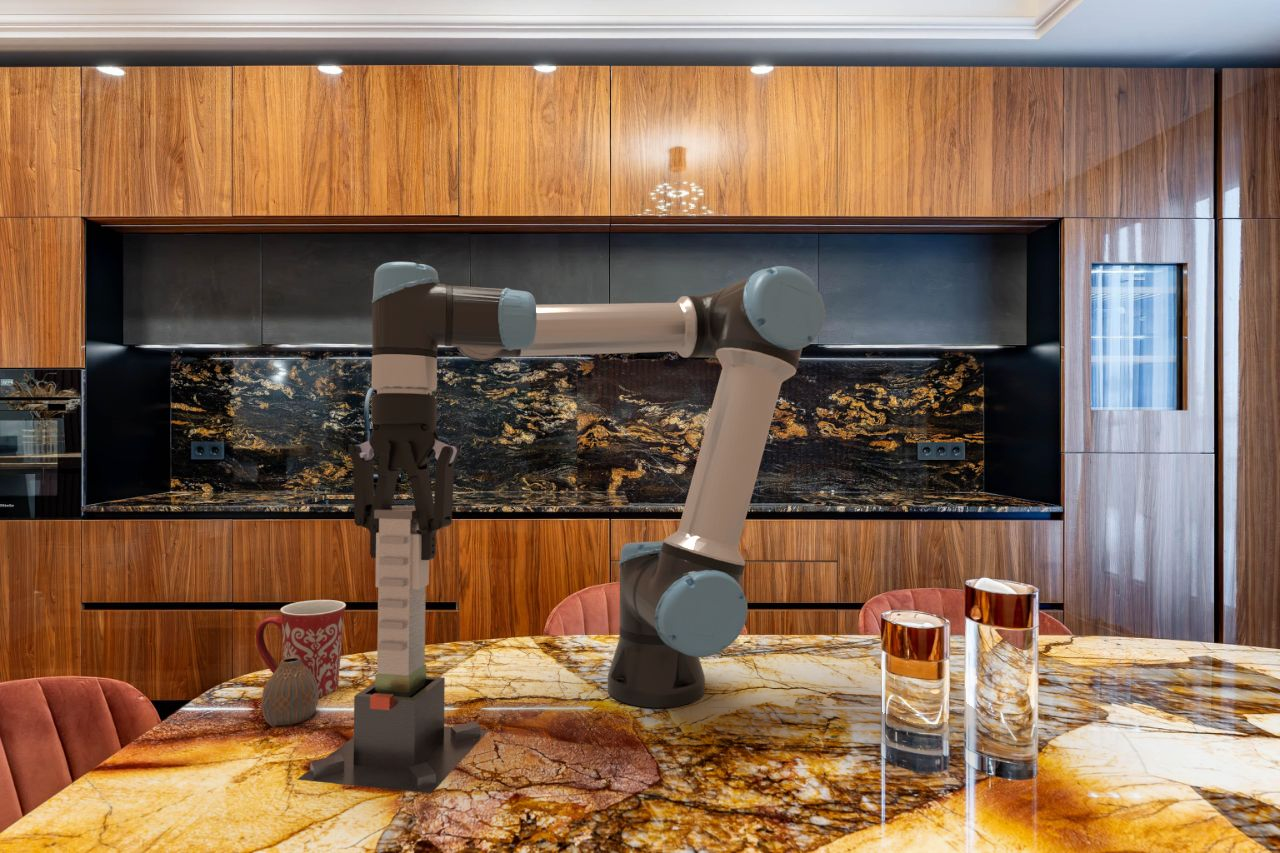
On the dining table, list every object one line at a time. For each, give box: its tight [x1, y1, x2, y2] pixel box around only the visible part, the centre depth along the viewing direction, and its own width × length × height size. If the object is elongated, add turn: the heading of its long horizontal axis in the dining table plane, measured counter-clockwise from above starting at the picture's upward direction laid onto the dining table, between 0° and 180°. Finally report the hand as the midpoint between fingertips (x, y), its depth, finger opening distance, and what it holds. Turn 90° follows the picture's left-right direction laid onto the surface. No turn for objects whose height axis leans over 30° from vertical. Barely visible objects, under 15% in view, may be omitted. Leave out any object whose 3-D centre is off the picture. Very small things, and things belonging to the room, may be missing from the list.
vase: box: [261, 657, 319, 728], centre depth 94 cm, size 7×7×9 cm
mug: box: [255, 599, 347, 701], centre depth 104 cm, size 13×9×14 cm
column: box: [374, 505, 427, 697], centre depth 84 cm, size 5×5×22 cm
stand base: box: [297, 675, 489, 794], centre depth 84 cm, size 16×16×10 cm
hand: (402, 585), depth 84 cm, fingers closed on column, 4 cm apart
